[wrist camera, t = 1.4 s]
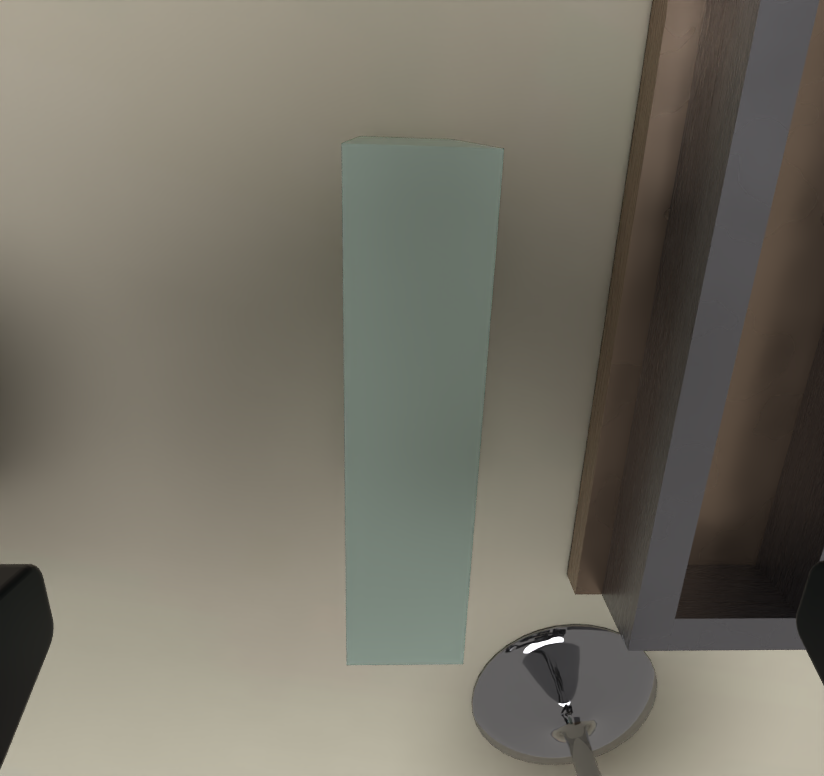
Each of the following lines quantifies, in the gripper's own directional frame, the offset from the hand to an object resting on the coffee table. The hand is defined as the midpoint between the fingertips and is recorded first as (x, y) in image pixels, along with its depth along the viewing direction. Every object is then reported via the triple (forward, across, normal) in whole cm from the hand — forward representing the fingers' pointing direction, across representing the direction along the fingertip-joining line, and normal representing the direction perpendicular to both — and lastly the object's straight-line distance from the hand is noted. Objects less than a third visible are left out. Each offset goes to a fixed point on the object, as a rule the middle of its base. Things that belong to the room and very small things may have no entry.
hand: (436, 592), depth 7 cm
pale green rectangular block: (+12, 0, 0) cm, 12 cm away
